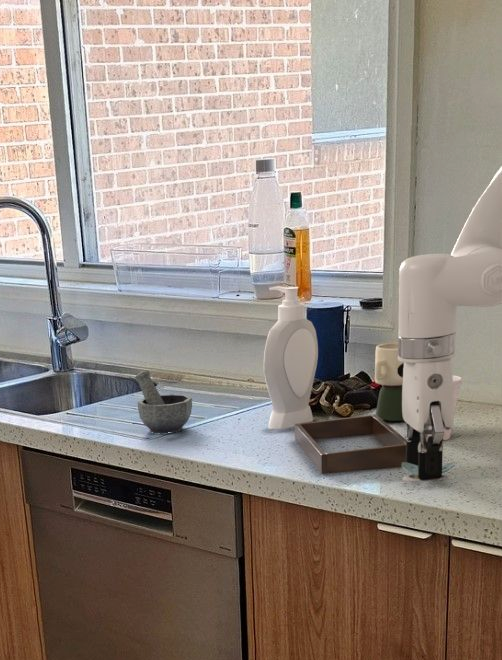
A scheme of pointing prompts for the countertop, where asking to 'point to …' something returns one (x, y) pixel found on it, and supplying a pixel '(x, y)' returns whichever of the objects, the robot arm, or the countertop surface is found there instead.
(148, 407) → the mortar and pestle
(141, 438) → the countertop surface
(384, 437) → the crate
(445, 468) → the pacifier
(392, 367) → the character mug
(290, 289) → the soap bottle
